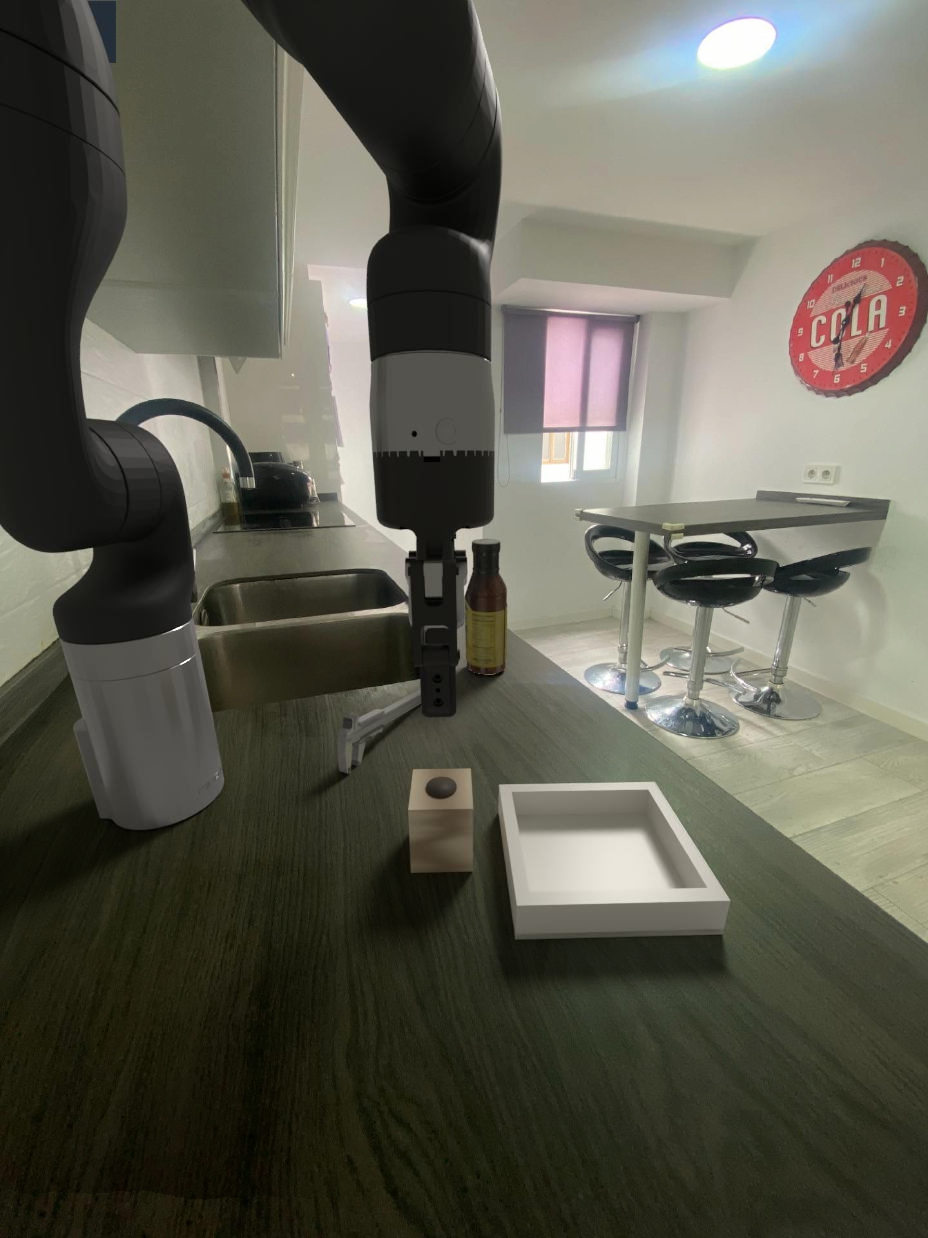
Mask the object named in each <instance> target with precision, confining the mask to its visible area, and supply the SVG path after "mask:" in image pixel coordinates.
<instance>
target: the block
mask: <svg viewBox="0 0 928 1238" xmlns="http://www.w3.org/2000/svg"><path fill="white" fill-rule="evenodd" d="M472 781H473V780H472V769H471V768H423V769H422V768H416V769H415V768H413V770H412V776H411V783H410V785H411V786H410V793H409V801H408V808H407V815H408V836H409V857H410V859H409V861H410V873H411V874H413V873H415V874H416V873H417V874H418V873H456V872H457V873H461V872H464V873H466V872H473V871H474V868H473V867H474V802H473V801H474V799H473V785H472V784H473V782H472Z"/></svg>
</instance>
